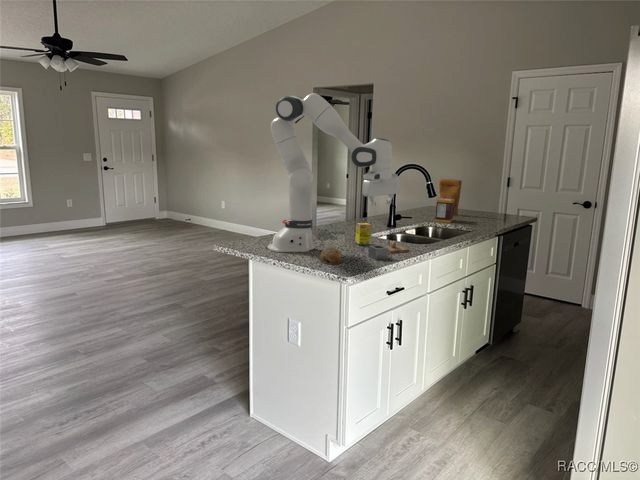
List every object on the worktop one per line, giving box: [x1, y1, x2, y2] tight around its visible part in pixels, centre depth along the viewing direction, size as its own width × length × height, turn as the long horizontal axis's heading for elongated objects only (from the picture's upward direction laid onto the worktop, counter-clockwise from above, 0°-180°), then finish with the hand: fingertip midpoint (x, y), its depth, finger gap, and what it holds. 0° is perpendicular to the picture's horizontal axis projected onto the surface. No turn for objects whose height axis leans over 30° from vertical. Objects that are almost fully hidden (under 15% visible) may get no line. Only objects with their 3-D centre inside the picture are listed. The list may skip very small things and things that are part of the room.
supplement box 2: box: [434, 198, 455, 223], centre depth 331 cm, size 10×15×16 cm
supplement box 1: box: [355, 222, 372, 246], centre depth 239 cm, size 6×6×11 cm
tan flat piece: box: [383, 240, 410, 254], centre depth 229 cm, size 11×11×4 cm
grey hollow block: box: [367, 244, 389, 261], centre depth 212 cm, size 6×6×5 cm
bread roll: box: [319, 247, 343, 265], centre depth 201 cm, size 10×10×8 cm
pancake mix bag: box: [437, 178, 463, 217], centre depth 361 cm, size 7×19×28 cm, turn 44°
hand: (381, 204), depth 212 cm, fingers open, 8 cm apart
